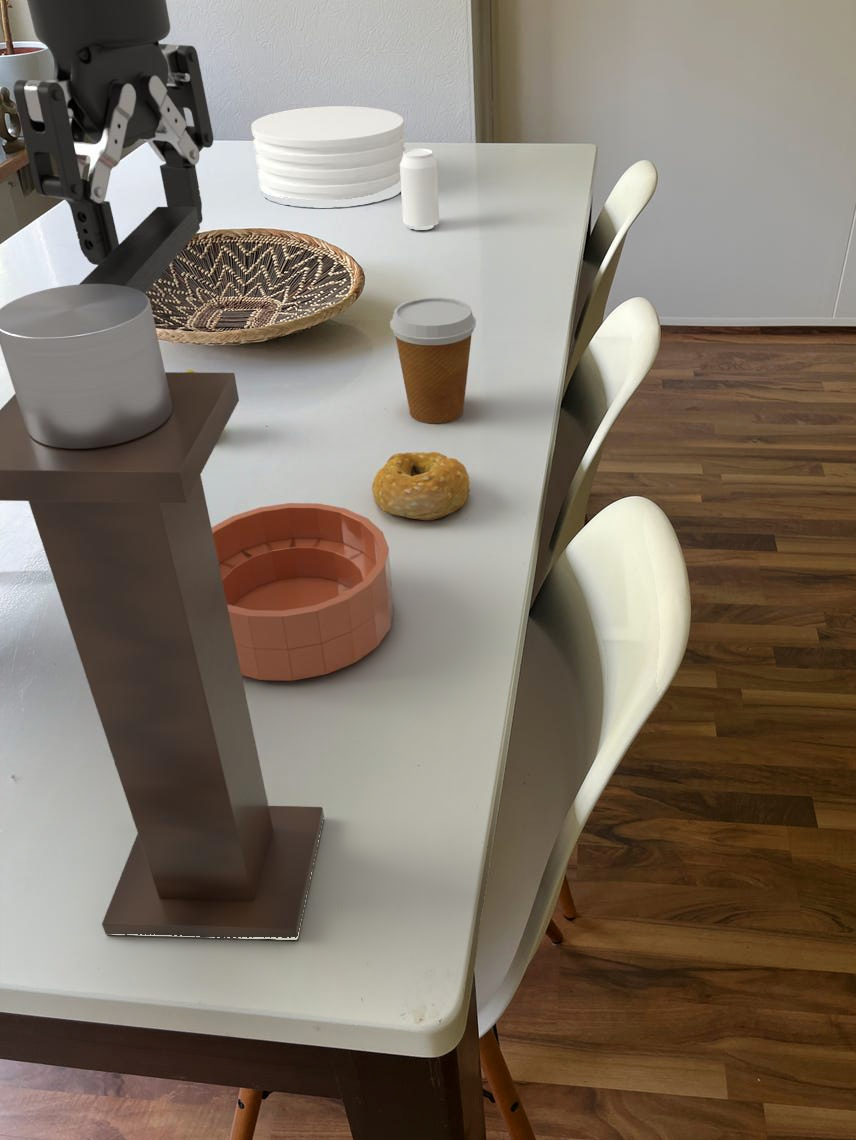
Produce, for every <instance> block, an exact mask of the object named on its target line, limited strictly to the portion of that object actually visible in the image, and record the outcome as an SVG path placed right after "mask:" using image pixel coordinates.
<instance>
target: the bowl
mask: <svg viewBox="0 0 856 1140" xmlns="http://www.w3.org/2000/svg"><path fill="white" fill-rule="evenodd" d="M211 528H212V533H213V538H214V543H215V548H216V553H217V558H218V562H219V567H220V572H221V577H222V582H223V587H224V592H225V597H226V601H227V606H228V611H229V616H230V621H231V626H232V631H233V636H234V640H235V645H236V650H237V655H238V660H239V665H240V670H241V675H242V677H247V678H250V679H254V680H258V681H292V682H293V681H298V680H302V679H309V678H314V677H320V676H325V675H328V674H330V673H334V672H336V671H337V670H341V669H344V668H345V667H348V666H350V665H352V664H355V663H357V662H358V661H360V660H361V659H362V658H364V657H365V656H366V655H368V654H369V653H371V652H372V651H373V650H375V649H376V648H377V647H378V646H379V645H380V643H381V642H382V641H383V639H384V638H385V636H386V635H387V634H388V632H389V631H390V630H391V626H392V621H393V615H394V612H395V611H394V608H395V607H394V598H393V585H392V570H391V559H390V548H389V545H388V543H387V540H386V538H385V535H384V532H383V531H382V530H381V529H380V528H379V527H378V526H377V525H376V524H375V523H373V522H372V521H371V520H370V519H369V518H367V517H365V516H363V515H361V514H359V513H356V512H354V511H353V510H349V509H347V508H345V507H339V506H334V505H329V504H324V503H318V502H317V503H313V502H311V503H309V502H308V503H306V502H303V503H302V502H287V503H281V504H274V505H268V506H266V505H265V506H260V507H256V508H254V509H253V508H252V509H251V510H247V511H244V512H241V513H238V514H235V515H231V516H229V517H228V518H226V519H224V520H222V521H220V522H219V523H217V524H215V525H213V526H211Z"/></svg>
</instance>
